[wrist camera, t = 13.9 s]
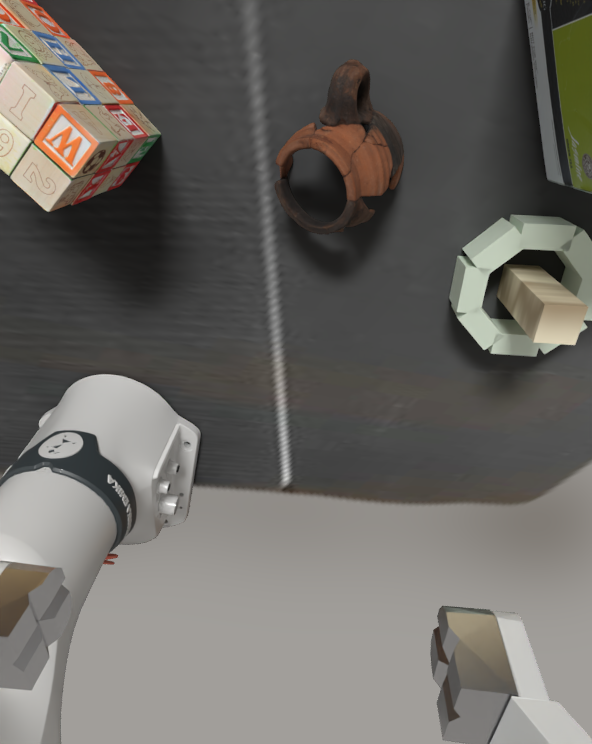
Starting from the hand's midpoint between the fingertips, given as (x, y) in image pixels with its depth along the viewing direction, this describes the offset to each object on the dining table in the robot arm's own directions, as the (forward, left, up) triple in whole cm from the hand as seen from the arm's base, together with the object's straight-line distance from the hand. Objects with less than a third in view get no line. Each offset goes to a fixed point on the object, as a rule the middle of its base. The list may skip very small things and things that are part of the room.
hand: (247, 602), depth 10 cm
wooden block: (-4, -18, -37) cm, 41 cm away
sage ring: (-4, -18, -37) cm, 41 cm away
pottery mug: (+6, -1, -38) cm, 38 cm away
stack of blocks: (+12, +24, -38) cm, 46 cm away
